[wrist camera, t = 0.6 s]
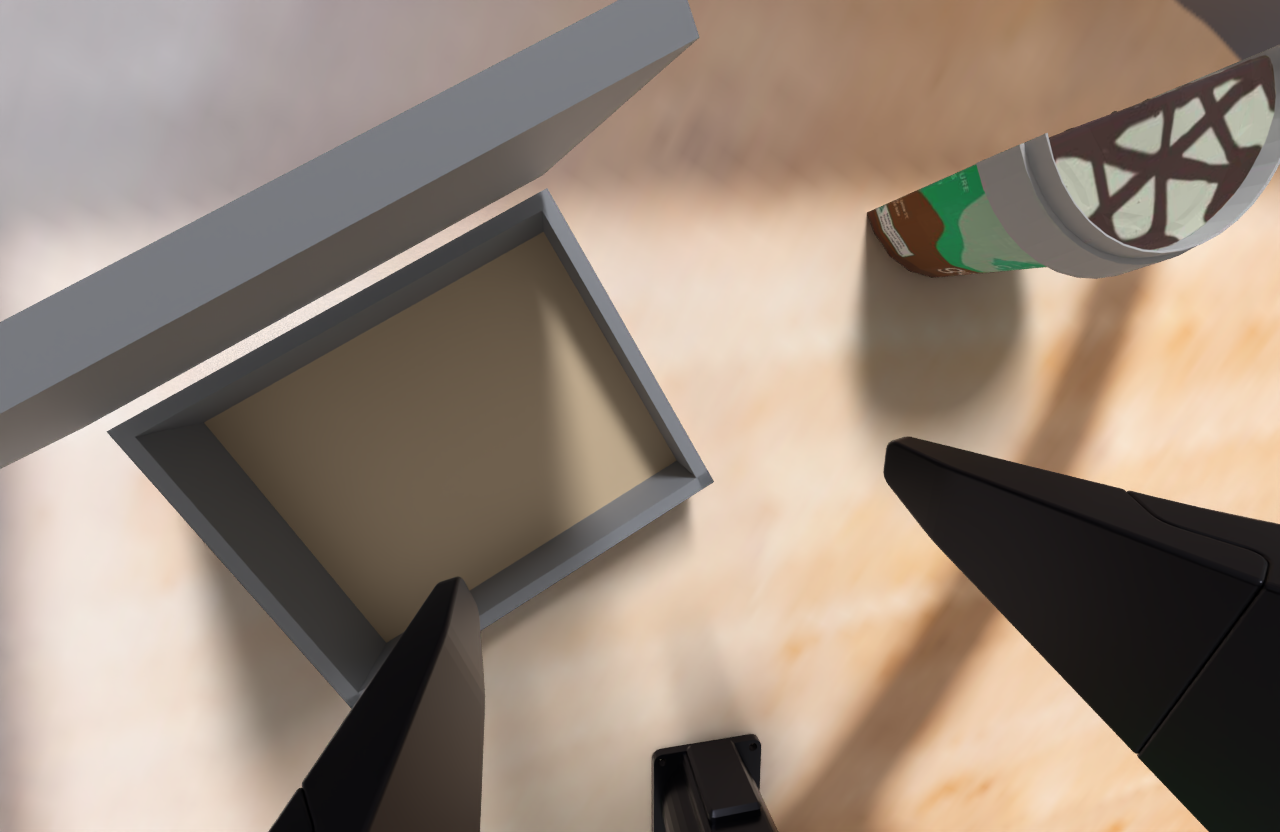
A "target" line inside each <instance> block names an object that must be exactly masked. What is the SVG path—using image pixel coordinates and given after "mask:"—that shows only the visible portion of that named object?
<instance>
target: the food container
mask: <svg viewBox="0 0 1280 832" xmlns="http://www.w3.org/2000/svg"><path fill="white" fill-rule="evenodd" d="M1279 164H1280V45H1278V46H1275V47H1273V48H1271V49H1268V50H1266V51H1263V52H1261V53H1259V54H1256V55H1254V56H1252V57H1249V58H1247V59H1244V60H1242V61H1239V62H1237V63H1235V64H1232V65H1230V66H1227V67H1225V68H1223V69H1220V70H1218V71H1215V72H1213V73H1211V74H1208V75H1206V76H1203V77H1201V78H1199V79H1196V80H1194V81H1192V82H1189V83H1187V84H1184V85H1182V86H1180V87H1177V88H1175V89H1172V90H1170V91H1168V92H1165V93H1163V94H1160V95H1158V96H1156V97H1153V98H1151V99H1147V100H1145V101H1143V102H1141V103H1139V104H1136V105H1134V106H1132V107H1129V108H1126V109H1123V110H1121V111H1118V112H1117V111H1114V112H1112V113H1111V114H1110V115H1107V116H1105V117H1102V118H1099V119H1097V120H1094V121H1091V122H1088V123H1086V124H1083V125H1081V126H1078V127H1075V128H1071V129H1068V130H1066V131H1064V132H1062V133H1060V134H1057V135H1055V136H1052V137H1050V138H1049V137H1048V133H1046V134H1043V135H1041V136H1039V137H1036V138H1034V139H1032V140H1030V141H1027V142H1025V143H1022V144H1020V145H1017V146H1015V147H1013V148H1011V149H1008V150H1006V151H1004V152H1001V153H999V154H997V155H994V156H992V157H990V158H987V159H985V160H983V161H980V162H978V163H976V164H975V165H973V166H971V167H969V168H966V169H964V170H962V171H960V172H957V173H955V174H953V175H951V176H948V177H946V178H944V179H942V180H939V181H937V182H935V183H933V184H930V185H928V186H926V187H924V188H921V189H919V190H917V191H915V192H912V193H910V194H908V195H906V196H903V197H901V198H899V199H897V200H894V201H892V202H890V203H888V204H885V205H883V206H881V207H879V208H876V209H874V210H872V211H870V212H867V214H868V217H869V219H870V222H871V225H872V228H873V231H874V234H875V235H876V237H877V238H878V240H879V241H880V242H881V244H882V245H883V247H884V248H885V250H886V251H887V253H888V254H889V256H890V257H892V258H893V259H894V260H896V261H897V262H898V263H900V264H901V265H902V266H904V267H905V268H906V269H907V270H909V271H911V272H915V273H918V274H921V275H925V276H928V277H946V276H957V275H967V274H978V273H988V272H999V271H1009V270H1020V269H1030V268H1041V267H1048V268H1050V269H1052V270H1054V271H1056V272H1059V273H1062V274H1066V275H1070V276H1073V277H1078V278H1094V279H1097V278H1105V277H1112V276H1117V275H1121V274H1124V273H1127V272H1130V271H1133V270H1136V269H1139V268H1142V267H1146V266H1149V265H1152V264H1155V263H1158V262H1161V261H1164V260H1167V259H1170V258H1173V257H1176V256H1179V255H1181V254H1183V253H1184V252H1186V251H1188V250H1190V249H1192V248H1194V247H1196V246H1197V245H1200V244H1203V243H1204V242H1206V241H1208V240H1210V239H1212V238H1213V237H1215V236H1217V235H1219V234H1221V233H1222V232H1223V231H1224V230H1226V229H1227V228H1228V227H1230V226H1231V225H1232V224H1233V223H1235V222H1236V221H1237V220H1238V219H1239V218H1240V217H1241V216H1242V215H1243V214H1244V213H1245V212H1246V211H1247V210H1248V209H1249V208H1250V207H1251V206H1252V205H1253V204H1254V202H1255V201H1256V200H1257V198H1258V197H1259V196H1260V194H1261V193H1262V192H1263V190H1264V189H1265V188H1266V186H1267V185H1268V183H1269V182H1270V180H1271V178H1272V176H1273V175H1274V173H1275V171H1276V169H1277V168H1278V166H1279Z"/></svg>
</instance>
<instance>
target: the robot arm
mask: <svg viewBox="0 0 1280 832" xmlns="http://www.w3.org/2000/svg"><path fill="white" fill-rule="evenodd" d="M884 477H885V480H886V482H887V484H888V485H889V486H890V488H891V489H892V490H893V491H894V493H895V494H896V495H897V496H898V498H899V499H900V500H901V502H902V503H903V504H904V505H905V507H906V508H907V509H908V510H909V512H910V513H911V514H912V516H913V517H914V518H915V519H916V521H917V522H918V523H919V525H920V526H921V527H922V528H923V530H924V531H925V532H926V533H927V534H928V536H929V537H930V538H931V539H932V540H933V542H934V543H935V544H936V545H937V546H938V547H939V548H940V549H941V550H942V551H943V552H944V553H945V555H946V556H947V557H948V558H949V559H950V560H951V561H952V562H953V563H954V564H955V565H956V566H957V567H958V568H959V569H960V570H961V571H962V572H963V573H964V574H965V576H966V577H967V578H968V579H969V580H970V581H971V582H972V583H973V584H974V585H975V586H976V587H977V588H978V589H979V590H980V591H981V592H982V593H983V594H984V595H985V597H986V598H987V599H988V600H989V601H990V602H991V603H992V604H993V605H994V606H995V607H996V608H997V609H998V610H999V611H1000V612H1001V613H1002V614H1003V615H1004V617H1005V618H1006V619H1007V620H1008V621H1009V622H1010V623H1011V624H1012V625H1013V626H1014V627H1015V628H1016V629H1017V630H1018V631H1019V632H1020V633H1021V634H1022V635H1023V636H1024V638H1025V639H1026V640H1027V641H1028V642H1029V643H1030V644H1031V645H1032V646H1033V647H1034V648H1035V649H1036V650H1037V651H1038V652H1039V653H1040V654H1041V655H1042V656H1043V657H1044V659H1045V660H1046V661H1047V662H1048V663H1049V664H1050V665H1051V666H1052V667H1053V668H1054V669H1055V670H1056V671H1057V672H1058V673H1059V674H1060V675H1061V676H1062V677H1063V679H1064V680H1065V681H1066V682H1067V683H1068V684H1069V685H1070V686H1071V687H1072V688H1073V689H1074V690H1075V691H1076V692H1077V693H1078V694H1079V695H1080V696H1081V697H1082V698H1083V700H1084V701H1085V702H1086V703H1087V704H1088V705H1089V706H1090V707H1091V708H1092V709H1093V710H1094V711H1095V712H1096V713H1097V714H1098V715H1099V716H1100V717H1101V718H1102V719H1103V721H1104V722H1105V723H1106V724H1107V725H1108V726H1109V727H1110V728H1111V729H1112V730H1113V731H1114V732H1115V733H1116V734H1117V735H1118V736H1119V737H1120V738H1121V739H1122V741H1123V742H1124V743H1125V744H1126V745H1127V746H1128V747H1129V748H1130V749H1131V750H1132V751H1133V752H1134V753H1136V754H1137V756H1138V758H1139V759H1140V760H1141V761H1142V762H1143V763H1144V764H1145V765H1146V766H1147V767H1148V768H1149V769H1150V770H1151V771H1152V772H1153V774H1154V775H1155V776H1156V777H1157V778H1158V779H1159V780H1160V781H1161V782H1162V783H1163V784H1164V785H1165V786H1166V787H1167V788H1168V789H1169V790H1170V791H1171V792H1172V793H1173V795H1174V796H1175V797H1176V798H1177V799H1178V800H1179V801H1180V802H1181V803H1182V804H1183V805H1184V806H1185V807H1186V808H1187V809H1188V810H1189V811H1190V812H1191V813H1192V815H1193V816H1194V817H1195V818H1196V819H1197V820H1198V821H1199V822H1200V823H1201V824H1202V825H1203V826H1204V827H1205V828H1206V829H1207V830H1208V831H1209V832H1280V524H1277V523H1272V522H1267V521H1262V520H1257V519H1252V518H1247V517H1243V516H1238V515H1233V514H1228V513H1224V512H1219V511H1214V510H1210V509H1205V508H1200V507H1196V506H1192V505H1187V504H1183V503H1179V502H1174V501H1170V500H1166V499H1162V498H1157V497H1153V496H1149V495H1145V494H1141V493H1137V492H1133V491H1127V492H1126V491H1125V490H1124V489H1121V488H1116V487H1112V486H1108V485H1104V484H1100V483H1096V482H1092V481H1088V480H1084V479H1080V478H1076V477H1072V476H1068V475H1064V474H1059V473H1055V472H1051V471H1047V470H1043V469H1039V468H1035V467H1031V466H1027V465H1023V464H1019V463H1015V462H1011V461H1006V460H1002V459H998V458H994V457H990V456H986V455H982V454H978V453H974V452H970V451H966V450H962V449H958V448H954V447H950V446H945V445H941V444H937V443H933V442H929V441H925V440H921V439H917V438H913V437H903V438H899V439H896V440H893V441H891V442H889V443H888V445H887V448H886V455H885V463H884ZM484 718H485V688H484V673H483V659H482V646H481V632H480V619H479V611H478V607H477V605H476V602H475V600H474V598H473V597H472V595H471V593H470V591H469V589H468V587H467V585H466V583H465V581H464V580H463V579H462V578H461V577H458V576H457V577H453V578H450V579H447V580H444V581H441V582H439V583H438V584H436V586H435V587H434V588H433V590H432V591H431V593H430V594H429V596H428V597H427V599H426V600H425V602H424V603H423V605H422V606H421V608H420V609H419V611H418V612H417V614H416V615H415V616H414V618H413V619H412V621H411V622H410V624H409V625H408V627H407V628H406V630H405V631H404V633H403V634H402V636H401V637H400V639H399V640H398V642H397V643H396V645H395V646H394V648H393V649H392V650H391V652H390V653H389V655H388V656H387V658H386V659H385V661H384V662H383V664H382V665H381V667H380V668H379V670H378V671H377V673H376V674H375V676H374V677H373V679H372V680H371V681H370V683H369V684H368V686H367V687H366V689H365V690H364V692H363V693H362V695H361V696H360V698H359V699H358V701H357V702H356V704H355V705H354V707H353V708H352V710H351V711H350V713H349V714H348V715H347V717H346V718H345V720H344V721H343V723H342V724H341V726H340V727H339V729H338V730H337V732H336V733H335V735H334V736H333V738H332V739H331V741H330V742H329V744H328V745H327V747H326V748H325V749H324V751H323V752H322V754H321V755H320V757H319V758H318V760H317V761H316V763H315V764H314V766H313V767H312V769H311V770H310V772H309V773H308V775H307V776H306V778H305V779H304V781H303V782H302V787H303V788H299V789H297V791H296V792H295V793H294V795H293V796H292V798H291V799H290V801H289V802H288V804H287V805H286V807H285V808H284V810H283V811H282V813H281V814H280V816H279V817H278V819H277V820H276V821H275V823H274V824H273V826H272V827H271V829H270V830H269V831H268V832H480V817H481V792H482V767H483V743H484ZM751 744H752V745H751ZM662 758H663V760H661V761H660V759H662ZM760 762H761V743H760V741H759V739H758V737H757V736H756V735H754V734H749V735H742V736H736V737H730V738H724V739H718V740H712V741H706V742H700V743H693V744H687V745H681V746H675V747H669V748H663V749H659V750H657V751H656V752H654V754H653V757H652V832H778V830H777V828H776V826H775V824H774V822H773V819H772V817H771V815H770V813H769V811H768V809H767V807H766V804H765V802H764V800H763V798H762V796H761V794H760V792H759V789H760Z"/></svg>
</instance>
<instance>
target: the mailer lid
mask: <svg viewBox="0 0 1280 832" xmlns="http://www.w3.org/2000/svg"><path fill="white" fill-rule="evenodd" d="M698 38H699V34H698V31H697V28H696V25H695V22H694V19H693V16H692V13H691V10H690V7H689V4H688V1H687V0H618V1H616V2H614V3H612V4H610V5H609V6H607V7H605V8H603V9H601V10H599V11H597V12H595V13H593V14H591V15H589V16H587V17H585V18H584V19H582V20H580V21H578V22H576V23H574V24H572V25H570V26H568V27H566V28H564V29H562V30H561V31H559V32H557V33H555V34H553V35H551V36H549V37H547V38H545V39H543V40H541V41H539V42H537V43H536V44H534V45H532V46H530V47H528V48H526V49H524V50H522V51H520V52H518V53H516V54H514V55H513V56H511V57H509V58H507V59H505V60H503V61H501V62H499V63H497V64H495V65H493V66H491V67H489V68H488V69H486V70H484V71H482V72H480V73H478V74H476V75H474V76H472V77H470V78H468V79H466V80H465V81H463V82H461V83H459V84H457V85H455V86H453V87H451V88H449V89H447V90H445V91H443V92H441V93H440V94H438V95H436V96H434V97H432V98H430V99H428V100H426V101H424V102H422V103H420V104H418V105H417V106H415V107H413V108H411V109H409V110H407V111H405V112H403V113H401V114H399V115H397V116H395V117H393V118H392V119H390V120H388V121H386V122H384V123H382V124H380V125H378V126H376V127H374V128H372V129H370V130H368V131H367V132H365V133H363V134H361V135H359V136H357V137H355V138H353V139H351V140H349V141H347V142H345V143H344V144H342V145H340V146H338V147H336V148H334V149H332V150H330V151H328V152H326V153H324V154H322V155H320V156H319V157H317V158H315V159H313V160H311V161H309V162H307V163H305V164H303V165H301V166H299V167H297V168H296V169H294V170H292V171H290V172H288V173H286V174H284V175H282V176H280V177H278V178H276V179H274V180H272V181H271V182H269V183H267V184H265V185H263V186H261V187H259V188H257V189H255V190H253V191H251V192H249V193H248V194H246V195H244V196H242V197H240V198H238V199H236V200H234V201H232V202H230V203H228V204H226V205H224V206H223V207H221V208H219V209H217V210H215V211H213V212H211V213H209V214H207V215H205V216H203V217H201V218H199V219H198V220H196V221H194V222H192V223H190V224H188V225H186V226H184V227H182V228H180V229H178V230H176V231H175V232H173V233H171V234H169V235H167V236H165V237H163V238H161V239H159V240H157V241H155V242H153V243H151V244H150V245H148V246H146V247H144V248H142V249H140V250H138V251H136V252H134V253H132V254H130V255H128V256H127V257H125V258H123V259H121V260H119V261H117V262H115V263H113V264H111V265H109V266H107V267H105V268H103V269H102V270H100V271H98V272H96V273H94V274H92V275H90V276H88V277H86V278H84V279H82V280H80V281H79V282H77V283H75V284H73V285H71V286H69V287H67V288H65V289H63V290H61V291H59V292H57V293H55V294H54V295H52V296H50V297H48V298H46V299H44V300H42V301H40V302H38V303H36V304H34V305H32V306H31V307H29V308H27V309H25V310H23V311H21V312H19V313H17V314H15V315H13V316H11V317H9V318H7V319H6V320H4V321H2V322H0V469H1V468H3V467H5V466H7V465H9V464H11V463H13V462H15V461H17V460H19V459H21V458H23V457H25V456H27V455H29V454H31V453H33V452H35V451H37V450H39V449H41V448H43V447H45V446H47V445H49V444H51V443H53V442H55V441H57V440H59V439H61V438H63V437H65V436H67V435H69V434H71V433H73V432H76V431H78V430H80V429H82V428H84V427H85V426H87V425H89V424H91V423H93V422H94V421H96V420H98V419H100V418H102V417H104V416H105V415H107V414H109V413H111V412H113V411H115V410H116V409H118V408H120V407H122V406H124V405H125V404H127V403H129V402H131V401H133V400H135V399H136V398H138V397H140V396H142V395H144V394H145V393H147V392H149V391H151V390H153V389H155V388H156V387H158V386H160V385H162V384H164V383H165V382H167V381H169V380H171V379H173V378H175V377H176V376H178V375H180V374H182V373H184V372H185V371H187V370H189V369H191V368H193V367H195V366H196V365H198V364H200V363H202V362H204V361H205V360H207V359H209V358H211V357H213V356H215V355H216V354H218V353H220V352H222V351H224V350H225V349H227V348H229V347H231V346H233V345H235V344H236V343H238V342H240V341H242V340H244V339H246V338H247V337H249V336H251V335H253V334H255V333H256V332H258V331H260V330H262V329H264V328H266V327H267V326H269V325H271V324H273V323H275V322H276V321H278V320H280V319H282V318H284V317H286V316H287V315H289V314H291V313H293V312H295V311H296V310H298V309H300V308H302V307H304V306H306V305H307V304H309V303H311V302H313V301H315V300H316V299H318V298H320V297H322V296H324V295H326V294H327V293H329V292H331V291H333V290H335V289H336V288H338V287H340V286H342V285H344V284H346V283H347V282H349V281H351V280H353V279H355V278H356V277H358V276H360V275H362V274H364V273H366V272H367V271H369V270H371V269H373V268H375V267H377V266H378V265H380V264H382V263H384V262H386V261H387V260H389V259H391V258H393V257H395V256H397V255H398V254H400V253H402V252H404V251H406V250H407V249H409V248H411V247H413V246H415V245H417V244H418V243H420V242H422V241H424V240H426V239H427V238H429V237H431V236H433V235H435V234H437V233H438V232H440V231H442V230H444V229H446V228H447V227H449V226H451V225H453V224H455V223H457V222H458V221H460V220H462V219H464V218H466V217H467V216H469V215H471V214H473V213H475V212H477V211H478V210H480V209H482V208H484V207H486V206H487V205H489V204H491V203H493V202H495V201H497V200H498V199H500V198H502V197H504V196H506V195H508V194H509V193H511V192H513V191H515V190H517V189H518V188H520V187H522V186H524V185H526V184H528V183H529V182H531V181H533V180H535V179H537V178H538V177H540V176H542V175H543V174H545V173H546V172H547V171H548V170H549V169H550V168H551V167H553V166H554V165H555V164H556V163H557V162H558V161H559V160H560V159H562V158H563V157H564V156H565V155H566V154H567V153H568V152H570V151H571V150H572V149H573V148H574V147H575V146H576V145H578V144H579V143H580V142H581V141H582V140H583V139H584V138H586V137H587V136H588V135H589V134H590V133H591V132H592V131H593V130H595V129H596V128H597V127H598V126H599V125H600V124H601V123H603V122H604V121H605V120H606V119H607V118H608V117H609V116H611V115H612V114H613V113H614V112H615V111H616V110H617V109H619V108H620V107H621V106H622V105H623V104H624V103H625V102H626V101H628V100H629V99H630V98H631V97H632V96H633V95H634V94H636V93H637V92H638V91H639V90H640V89H641V88H642V87H644V86H645V85H646V84H647V83H648V82H649V81H650V80H652V79H653V78H654V77H655V76H656V75H657V74H658V73H659V72H661V71H662V70H663V69H664V68H665V67H666V66H667V65H669V64H670V63H671V62H672V61H673V60H674V59H675V58H677V57H678V56H679V55H680V54H681V53H682V52H683V51H685V50H686V49H687V48H688V47H689V46H690V45H691V44H692V43H694V42H695V41H696V40H697V39H698Z"/></svg>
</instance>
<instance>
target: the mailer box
mask: <svg viewBox="0 0 1280 832" xmlns="http://www.w3.org/2000/svg"><path fill="white" fill-rule="evenodd" d="M107 433H108V434H109V435H110V436H111V437H112V438H113V439H114V441H115V442H116V443H117V444H118V445H119V446H120V447H121V448H122V450H123V451H124V452H125V453H126V454H127V455H128V456H129V458H130V459H131V460H132V461H133V462H134V463H135V464H136V465H137V467H138V468H139V469H140V470H141V471H142V472H143V473H144V474H145V476H146V477H147V478H148V479H149V480H150V481H151V482H152V484H153V485H154V486H155V487H156V488H157V489H158V490H159V491H160V493H161V494H162V495H163V496H164V497H165V498H166V499H167V500H168V502H169V503H170V504H171V505H172V506H173V507H174V508H175V510H176V511H177V512H178V513H179V514H180V515H181V516H182V517H183V519H184V520H185V521H186V522H187V523H188V524H189V525H190V526H191V528H192V529H193V530H194V531H195V532H196V533H197V534H198V536H199V537H200V538H201V539H202V540H203V541H204V542H205V543H206V545H207V546H208V547H209V548H210V549H211V550H212V551H213V552H214V554H215V555H216V556H217V557H218V558H219V559H220V560H221V562H222V563H223V564H224V565H225V566H226V567H227V568H228V569H229V571H230V572H231V573H232V574H233V575H234V576H235V577H236V578H237V580H238V581H239V582H240V583H241V584H242V585H243V586H244V588H245V589H246V590H247V591H248V592H249V593H250V594H251V595H252V597H253V598H254V599H255V600H256V601H257V602H258V603H259V604H260V606H261V607H262V608H263V609H264V610H265V611H266V612H267V614H268V615H269V616H270V617H271V618H272V619H273V620H274V621H275V623H276V624H277V625H278V626H279V627H280V628H281V629H282V630H283V632H284V633H285V634H286V635H287V636H288V637H289V638H290V640H291V641H292V642H293V643H294V644H295V645H296V646H297V647H298V649H299V650H300V651H301V652H302V653H303V654H304V655H305V656H306V658H307V659H308V660H309V661H310V662H311V663H312V664H313V666H314V667H315V668H316V669H317V670H318V671H319V672H320V673H321V675H322V676H323V677H324V678H325V679H326V680H327V681H328V682H329V684H330V685H331V686H332V687H333V688H334V689H335V690H336V692H337V693H338V694H339V695H340V696H341V697H342V698H343V699H344V701H345V702H346V703H347V704H348V705H349V706H350V707H351V708H353V707H354V705H355V704H356V702H357V701H358V699H359V698H360V696H361V695H362V693H363V692H364V690H365V689H366V687H367V686H368V684H369V683H370V681H371V680H372V679H373V677H374V676H375V674H376V673H377V671H378V670H379V668H380V667H381V665H382V664H383V662H384V661H385V659H386V658H387V656H388V655H389V653H390V652H391V650H392V649H393V648H394V646H395V645H396V643H397V642H398V640H399V639H400V637H401V636H402V634H403V633H404V631H405V630H406V628H407V627H408V625H409V624H410V622H411V621H412V619H413V618H414V616H415V615H416V614H417V612H418V611H419V609H420V608H421V606H422V605H423V603H424V602H425V600H426V599H427V597H428V596H429V594H430V593H431V591H432V590H433V588H434V587H435V586H436V584H438V583H439V582H441V581H444V580H447V579H450V578H453V577H457V576H458V577H461V578H462V579H463V580H464V581H465V583H466V585H467V587H468V589H469V591H470V593H471V595H472V597H473V598H474V600H475V602H476V605H477V607H478V611H479V619H480V631H481V630H482V629H484V628H486V627H487V626H489V625H490V624H492V623H493V622H495V621H497V620H498V619H500V618H501V617H503V616H504V615H506V614H508V613H509V612H511V611H512V610H514V609H515V608H517V607H519V606H520V605H522V604H523V603H525V602H526V601H528V600H529V599H531V598H533V597H534V596H536V595H537V594H539V593H540V592H542V591H544V590H545V589H547V588H548V587H550V586H551V585H553V584H555V583H556V582H558V581H559V580H561V579H562V578H564V577H566V576H567V575H569V574H570V573H572V572H573V571H575V570H576V569H578V568H580V567H581V566H583V565H584V564H586V563H587V562H589V561H591V560H592V559H594V558H595V557H597V556H598V555H600V554H602V553H603V552H605V551H606V550H608V549H609V548H611V547H613V546H614V545H616V544H617V543H619V542H620V541H622V540H623V539H625V538H627V537H628V536H630V535H631V534H633V533H634V532H636V531H638V530H639V529H641V528H642V527H644V526H645V525H647V524H649V523H650V522H652V521H653V520H655V519H656V518H658V517H660V516H661V515H663V514H664V513H666V512H667V511H669V510H670V509H672V508H674V507H675V506H677V505H678V504H680V503H681V502H683V501H685V500H686V499H688V498H689V497H691V496H692V495H694V494H696V493H697V492H699V491H700V490H702V489H703V488H705V487H707V486H708V485H710V484H711V483H713V482H714V481H713V479H712V477H711V476H710V474H709V472H708V470H707V469H706V467H705V465H704V463H703V462H702V460H701V458H700V456H699V455H698V453H697V451H696V449H695V448H694V446H693V444H692V442H691V441H690V439H689V437H688V435H687V433H686V432H685V430H684V428H683V426H682V425H681V423H680V421H679V419H678V418H677V416H676V414H675V412H674V411H673V409H672V407H671V405H670V404H669V402H668V400H667V398H666V397H665V395H664V393H663V391H662V389H661V388H660V386H659V384H658V382H657V381H656V379H655V377H654V375H653V374H652V372H651V370H650V368H649V367H648V365H647V363H646V361H645V360H644V358H643V356H642V354H641V353H640V351H639V349H638V347H637V345H636V344H635V342H634V340H633V338H632V337H631V335H630V333H629V331H628V330H627V328H626V326H625V324H624V323H623V321H622V319H621V317H620V316H619V314H618V312H617V310H616V309H615V307H614V305H613V303H612V301H611V300H610V298H609V296H608V294H607V293H606V291H605V289H604V287H603V286H602V284H601V282H600V280H599V279H598V277H597V275H596V273H595V272H594V270H593V268H592V266H591V265H590V263H589V261H588V259H587V257H586V256H585V254H584V252H583V250H582V249H581V247H580V245H579V243H578V242H577V240H576V238H575V236H574V235H573V233H572V231H571V229H570V228H569V226H568V224H567V222H566V221H565V219H564V217H563V215H562V213H561V212H560V210H559V208H558V206H557V205H556V203H555V201H554V199H553V198H552V196H551V194H550V192H549V191H548V189H545V190H543V191H541V192H539V193H537V194H536V195H534V196H532V197H530V198H528V199H527V200H525V201H523V202H521V203H519V204H518V205H516V206H514V207H512V208H510V209H509V210H507V211H505V212H503V213H501V214H499V215H498V216H496V217H494V218H492V219H490V220H489V221H487V222H485V223H483V224H481V225H480V226H478V227H476V228H474V229H472V230H471V231H469V232H467V233H465V234H463V235H462V236H460V237H458V238H456V239H454V240H452V241H451V242H449V243H447V244H445V245H443V246H442V247H440V248H438V249H436V250H434V251H433V252H431V253H429V254H427V255H425V256H424V257H422V258H420V259H418V260H416V261H414V262H413V263H411V264H409V265H407V266H405V267H404V268H402V269H400V270H398V271H396V272H395V273H393V274H391V275H389V276H387V277H386V278H384V279H382V280H380V281H378V282H377V283H375V284H373V285H371V286H369V287H367V288H366V289H364V290H362V291H360V292H358V293H357V294H355V295H353V296H351V297H349V298H348V299H346V300H344V301H342V302H340V303H339V304H337V305H335V306H333V307H331V308H329V309H328V310H326V311H324V312H322V313H320V314H319V315H317V316H315V317H313V318H311V319H310V320H308V321H306V322H304V323H302V324H301V325H299V326H297V327H295V328H293V329H291V330H290V331H288V332H286V333H284V334H282V335H281V336H279V337H277V338H275V339H273V340H272V341H270V342H268V343H266V344H264V345H263V346H261V347H259V348H257V349H255V350H254V351H252V352H250V353H248V354H246V355H244V356H243V357H241V358H239V359H237V360H235V361H234V362H232V363H230V364H228V365H226V366H225V367H223V368H221V369H219V370H217V371H216V372H214V373H212V374H210V375H208V376H206V377H205V378H203V379H201V380H199V381H197V382H196V383H194V384H192V385H190V386H188V387H187V388H185V389H183V390H181V391H179V392H178V393H176V394H174V395H172V396H170V397H169V398H167V399H165V400H163V401H161V402H159V403H158V404H156V405H154V406H152V407H150V408H149V409H147V410H145V411H143V412H141V413H140V414H138V415H136V416H134V417H132V418H131V419H129V420H127V421H125V422H123V423H121V424H120V425H118V426H116V427H114V428H112V429H111V430H109V431H107Z"/></svg>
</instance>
